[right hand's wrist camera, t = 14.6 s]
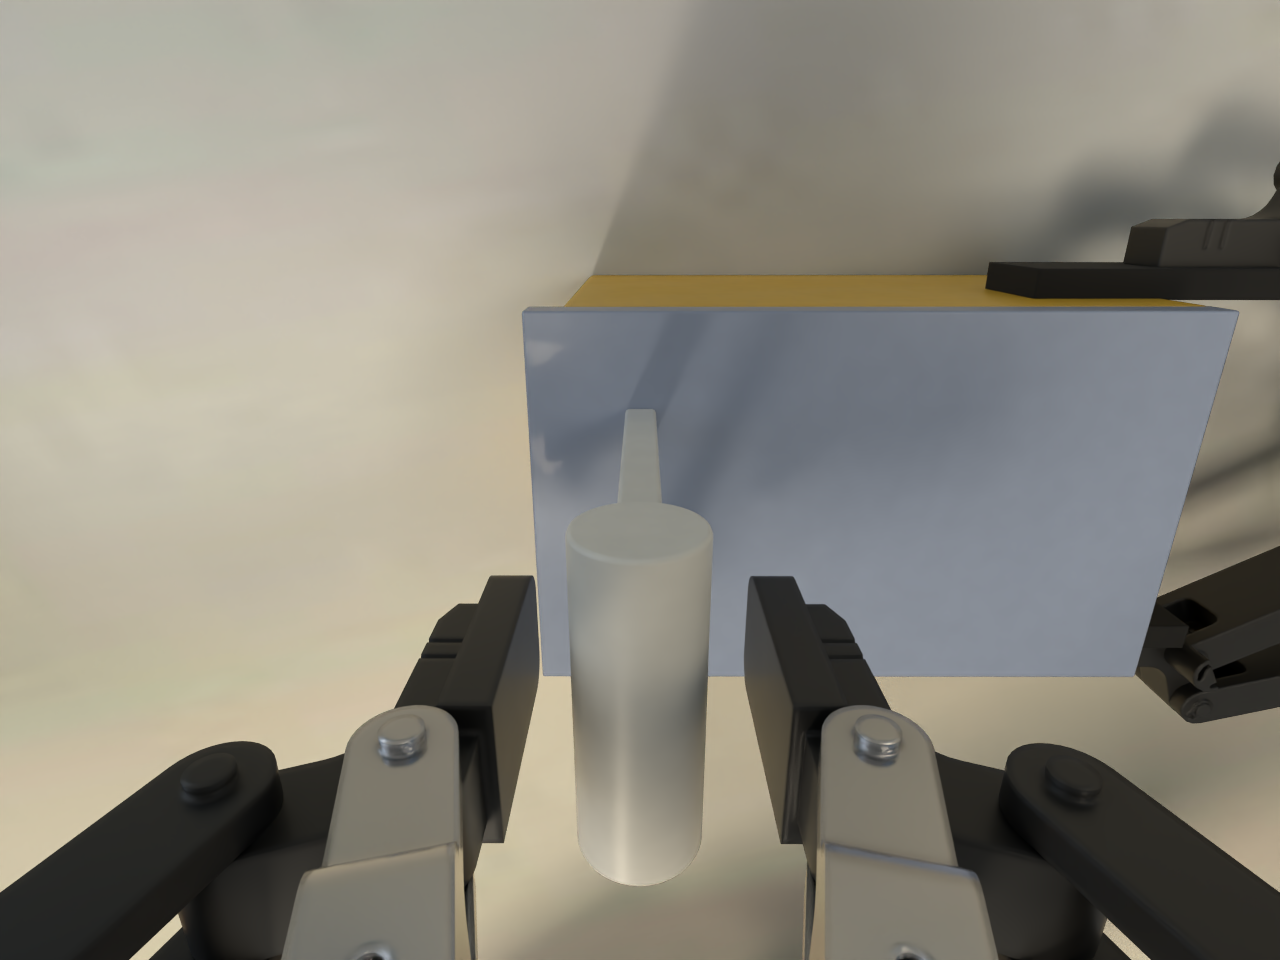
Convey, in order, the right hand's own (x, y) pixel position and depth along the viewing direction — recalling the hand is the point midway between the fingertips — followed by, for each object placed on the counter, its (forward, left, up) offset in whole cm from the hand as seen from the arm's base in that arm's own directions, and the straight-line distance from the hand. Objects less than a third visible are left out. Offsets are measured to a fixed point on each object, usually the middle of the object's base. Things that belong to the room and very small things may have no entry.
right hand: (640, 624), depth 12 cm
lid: (+2, -5, -6) cm, 8 cm away
